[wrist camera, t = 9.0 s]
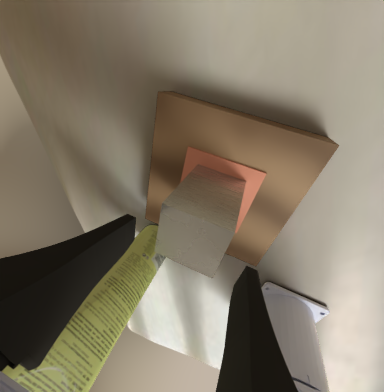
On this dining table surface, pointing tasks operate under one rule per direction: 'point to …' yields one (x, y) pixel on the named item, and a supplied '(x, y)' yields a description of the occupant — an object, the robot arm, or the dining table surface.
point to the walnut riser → (235, 164)
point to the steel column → (200, 219)
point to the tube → (95, 323)
